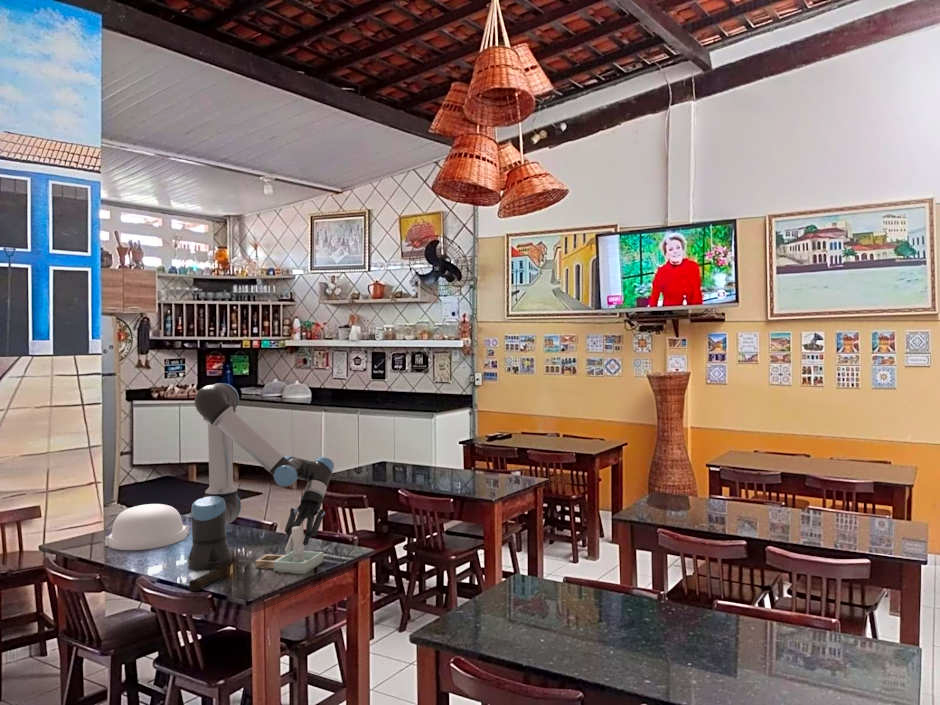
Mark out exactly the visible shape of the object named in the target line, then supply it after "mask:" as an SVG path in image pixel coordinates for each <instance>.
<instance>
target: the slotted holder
mask: <svg viewBox="0 0 940 705" xmlns="http://www.w3.org/2000/svg"><path fill="white" fill-rule="evenodd" d="M285 555H286V554H271V553H270V554H268V553H267V554H265V555H263V556H261V557H259V558H258V559H256V560H254V561H255V568H256V567H263V568H262V569H268V568H274V561H276V560H278V559H279V558H281V557H283V556H285Z"/></svg>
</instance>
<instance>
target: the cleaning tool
mask: <svg viewBox="0 0 940 705" xmlns="http://www.w3.org/2000/svg"><path fill="white" fill-rule="evenodd" d="M303 534H305V532H304V526H303V525H300V526H295V527H292V543H293V546H292V551H293V562H297V563H301V562H304V561H305V553H304V551H305V549H304V550H303V553H302V555H300V554H299V553H298V551H297V550H298V547H299V545H300V542H301V539H302V536H303Z"/></svg>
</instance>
